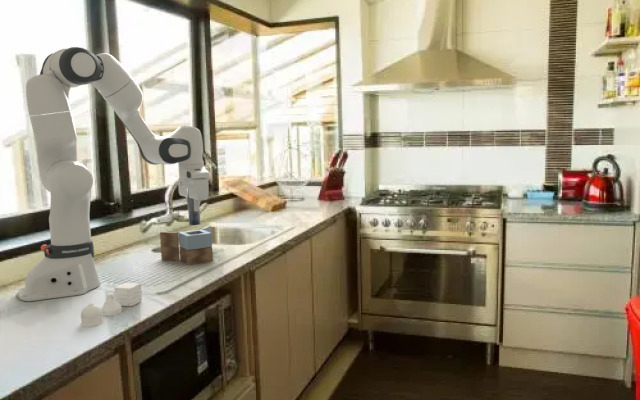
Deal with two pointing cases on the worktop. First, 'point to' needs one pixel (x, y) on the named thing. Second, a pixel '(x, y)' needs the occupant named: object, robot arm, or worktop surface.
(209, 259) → the hinge frame
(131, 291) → the container set
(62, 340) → the worktop surface
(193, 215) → the dark grey tall bar
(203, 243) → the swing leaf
